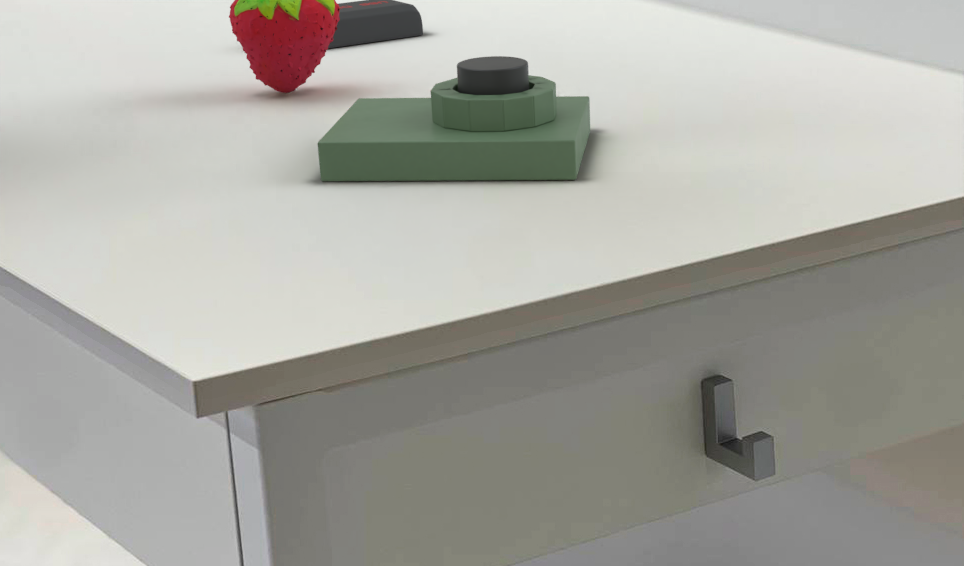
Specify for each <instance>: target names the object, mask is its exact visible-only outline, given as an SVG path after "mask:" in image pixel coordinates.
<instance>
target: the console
mask: <svg viewBox="0 0 964 566" xmlns="http://www.w3.org/2000/svg"><path fill="white" fill-rule="evenodd" d="M590 133H591V102H590V96H587V95H586V96H585V95H583V96H572V95H571V96H570V95H569V96H557V83H556V82H555V81H553V80H550V79H548V78H546V77H543V76H538V75H529V90H526V91H523V92H520V93H512V94H504V95H471V94H463V93H459V92H458V78H457V77H454V78H451V79H447V80H443V81H440V82H438V83H435V84H434V85H433V87H432V88H431V89H430V97H371V98H369V97H366V98H365V97H364V98H363V97H362V98H361V97H359V98H358V99H356V100H355V102H354V103H353V104H352V105H351V106H350V107H349V108H348V109H347V110H346V112H344V114H342V116H341V117H340V118H339V119H338V120H337V121H336V122H335V123H334V124H333V125H332V127H331V128H330V129H329V130H328V131H327V132H326V133H325V134H324V135H323V136H322V137H321V138H320V139H319V140H318V141H317V153H318V164H319V176H320V181H321V182H417V181H419V182H423V181H424V182H425V181H427V182H428V181H429V182H433V181H434V182H436V181H439V182H440V181H441V182H442V181H443V182H444V181H575V180H577V179H578V175H579V171H580V167H581V165H582V161H583V157H584V154H585V151H586V148H587V145H588V141H589V137H590Z"/></svg>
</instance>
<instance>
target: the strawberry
mask: <svg viewBox="0 0 964 566" xmlns="http://www.w3.org/2000/svg"><path fill="white" fill-rule="evenodd" d="M338 4H339V3H337V1H336V0H233V2H232V3H231V5H230V6H229V8H230V10H229V15H228V18H229V22H230V26H231V31H232V34H233V35H235V37H236V42H239V44H240V46H241V47H242V52H244V53H245V54H246V60H247V61H248V62H249V69H251V71H252V74H254V75H255V80H258V81H260V82H262V83H263V85H264V86H267V87H269V88H271V89H272V90H274V91H276V92H277V93H283V94H289V93H291V92H294V91H296V90H297V89H298V88H299V87H300V86H302V85H304V84H306V83H307V79H308V78H310V77H312V75H313V74H315V73H316V71H315V70H316V68H317V67H318V66H319V65H321V62H322V59H323V58H324V57H325V56H326V53H327V51H328V50H329V48H328V46H329V44H330V43H331V42H332V41H333V35H334V33H335V31H336V30H337V27H336V26H337V23H338V21H339V20H340V18H339V10H340V9H339V5H338Z"/></svg>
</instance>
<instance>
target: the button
mask: <svg viewBox="0 0 964 566" xmlns="http://www.w3.org/2000/svg"><path fill="white" fill-rule="evenodd" d="M456 74H457V75H456V76H457V77H456V78H458V92H459V93H463V94H471V95H504V94H512V93H520V92H523V91H526V90H529V61H527V60H526V59H524V58H521V57H515V56H504V55H503V56H500V55H498V56H497V55H495V56H493V55H491V56H479V57H473V58H472V57H471V58H467V59H464V60H462V61H458V63H457V64H456Z"/></svg>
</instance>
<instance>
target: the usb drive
mask: <svg viewBox="0 0 964 566" xmlns="http://www.w3.org/2000/svg"><path fill="white" fill-rule="evenodd" d="M337 4H338V5H339V9H340V10H339V18H340V20H339V21H338V23H337V26H336V27H337V30H336V31H335V33H334V35H333V41H332V42H331V43H330V44H329V46H328V49H334V48H342V47H347V46H348V47H349V46H356V45H363V44H369V43H376V42H384V41H391V40H396V39H397V40H398V39H405V38H413V37H418V36H422V35H424V27H423V20H422V19H423V18H422V15H421V13H420V11H419V9H417V7H416V6H415V5H414V4H411V3H407V2H403V1H398V0H357V1H356V0H355V1H348V2H341V3H337Z"/></svg>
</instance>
